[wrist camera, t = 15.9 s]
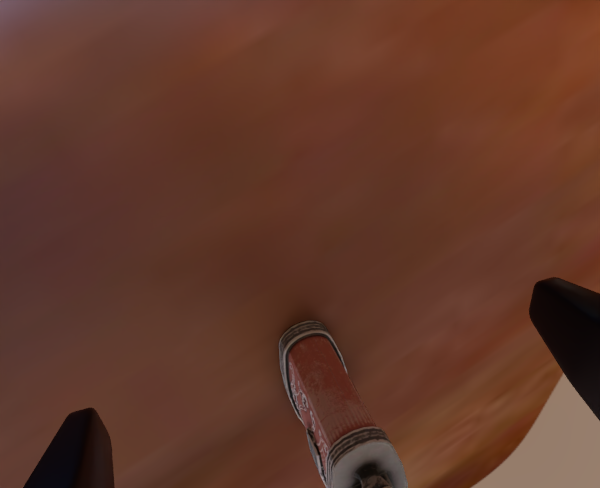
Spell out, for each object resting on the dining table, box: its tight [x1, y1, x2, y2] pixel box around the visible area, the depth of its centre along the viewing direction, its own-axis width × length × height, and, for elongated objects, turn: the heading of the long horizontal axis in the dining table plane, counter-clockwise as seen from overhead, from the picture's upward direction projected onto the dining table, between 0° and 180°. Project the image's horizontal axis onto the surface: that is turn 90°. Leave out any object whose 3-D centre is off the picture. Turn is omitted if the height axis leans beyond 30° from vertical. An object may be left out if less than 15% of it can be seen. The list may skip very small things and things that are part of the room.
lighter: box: [279, 321, 408, 488], centre depth 24 cm, size 8×3×10 cm, turn 12°
